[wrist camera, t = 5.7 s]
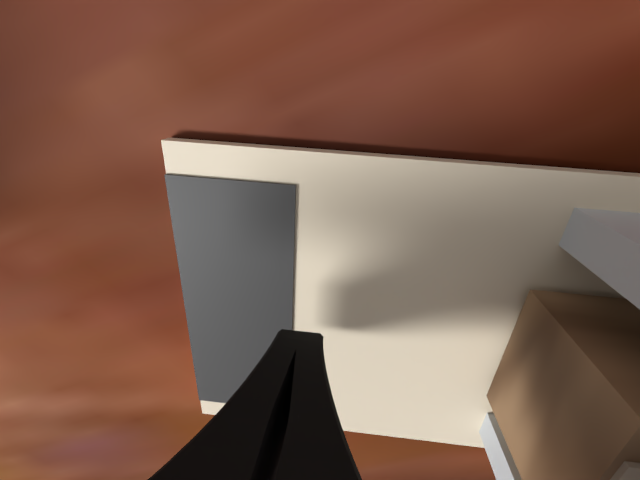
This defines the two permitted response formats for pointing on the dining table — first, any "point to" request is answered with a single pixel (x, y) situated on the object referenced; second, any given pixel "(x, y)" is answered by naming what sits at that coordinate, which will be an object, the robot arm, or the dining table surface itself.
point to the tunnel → (387, 271)
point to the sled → (571, 388)
